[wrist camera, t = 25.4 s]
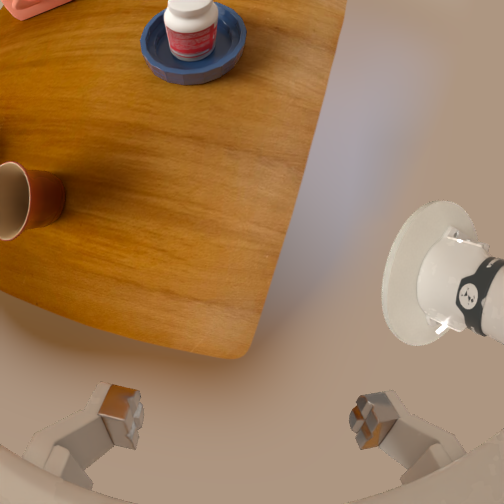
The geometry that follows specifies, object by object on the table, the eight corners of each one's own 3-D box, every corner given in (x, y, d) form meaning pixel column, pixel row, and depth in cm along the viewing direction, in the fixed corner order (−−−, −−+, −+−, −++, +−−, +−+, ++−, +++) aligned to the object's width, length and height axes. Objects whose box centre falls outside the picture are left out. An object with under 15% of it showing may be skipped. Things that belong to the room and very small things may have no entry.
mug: (78, 171, 29) (38, 164, 19) (67, 235, 31) (26, 248, 21) (20, 162, 27) (-23, 157, 17) (11, 220, 28) (-32, 228, 18)
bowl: (246, 19, 28) (251, 4, 25) (236, 91, 31) (239, 78, 27) (158, 15, 26) (154, 0, 22) (136, 87, 28) (129, 75, 25)
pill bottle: (221, 55, 29) (228, 7, 18) (177, 68, 28) (167, 23, 18) (207, 25, 27) (210, -23, 17) (165, 38, 27) (155, -10, 16)
